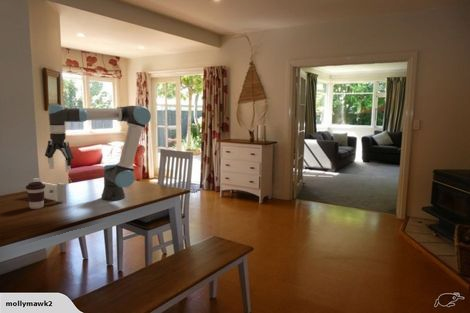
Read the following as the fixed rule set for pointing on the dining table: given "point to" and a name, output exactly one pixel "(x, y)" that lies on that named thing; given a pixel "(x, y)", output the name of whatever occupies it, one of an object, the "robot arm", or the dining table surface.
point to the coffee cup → (35, 194)
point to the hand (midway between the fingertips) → (59, 170)
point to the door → (50, 191)
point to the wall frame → (60, 191)
